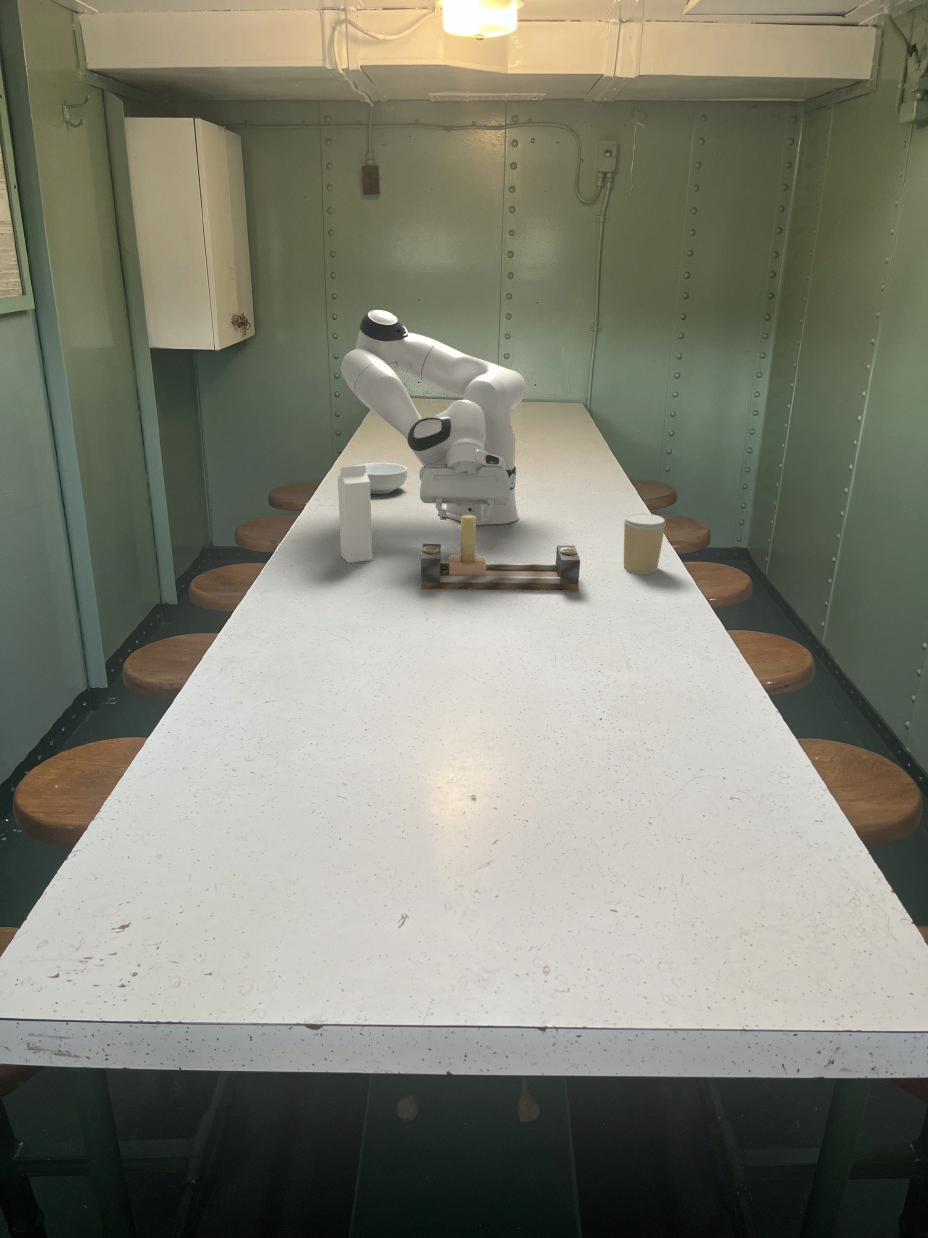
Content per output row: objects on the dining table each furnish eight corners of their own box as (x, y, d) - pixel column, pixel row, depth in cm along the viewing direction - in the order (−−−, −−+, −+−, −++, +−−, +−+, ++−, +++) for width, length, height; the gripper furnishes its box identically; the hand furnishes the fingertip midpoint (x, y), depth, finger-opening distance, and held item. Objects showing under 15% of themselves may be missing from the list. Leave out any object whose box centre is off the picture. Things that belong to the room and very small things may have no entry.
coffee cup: (663, 564, 207) (668, 515, 202) (657, 577, 199) (663, 526, 194) (623, 560, 210) (627, 511, 205) (616, 572, 201) (621, 521, 197)
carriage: (449, 579, 191) (449, 521, 186) (449, 568, 197) (449, 512, 192) (485, 579, 191) (487, 521, 186) (485, 568, 197) (486, 512, 192)
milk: (372, 560, 207) (370, 468, 198) (347, 563, 205) (344, 470, 196) (364, 552, 212) (362, 462, 203) (340, 555, 210) (336, 464, 201)
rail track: (421, 588, 190) (421, 554, 187) (423, 573, 199) (422, 540, 196) (578, 590, 190) (580, 556, 187) (572, 574, 199) (574, 542, 196)
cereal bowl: (411, 485, 273) (411, 462, 270) (402, 499, 258) (402, 475, 255) (357, 483, 274) (356, 460, 272) (345, 496, 259) (344, 473, 256)
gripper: (419, 456, 196) (416, 511, 191) (510, 458, 196) (510, 513, 191) (420, 471, 202) (418, 524, 197) (509, 473, 202) (509, 526, 197)
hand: (464, 519), depth 194 cm, fingers open, 8 cm apart
